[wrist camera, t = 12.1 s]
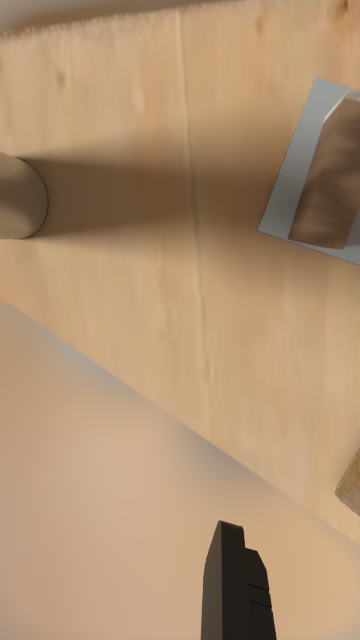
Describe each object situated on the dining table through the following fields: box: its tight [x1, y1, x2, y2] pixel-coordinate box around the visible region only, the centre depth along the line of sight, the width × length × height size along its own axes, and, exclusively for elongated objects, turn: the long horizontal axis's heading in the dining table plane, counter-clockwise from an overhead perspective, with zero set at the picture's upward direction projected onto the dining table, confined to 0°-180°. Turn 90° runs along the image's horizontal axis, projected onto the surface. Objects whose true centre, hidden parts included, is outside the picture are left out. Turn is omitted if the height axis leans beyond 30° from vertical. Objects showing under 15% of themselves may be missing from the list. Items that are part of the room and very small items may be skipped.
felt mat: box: [257, 77, 360, 265], centre depth 33 cm, size 13×15×1 cm
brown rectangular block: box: [287, 90, 360, 249], centre depth 31 cm, size 4×6×12 cm
